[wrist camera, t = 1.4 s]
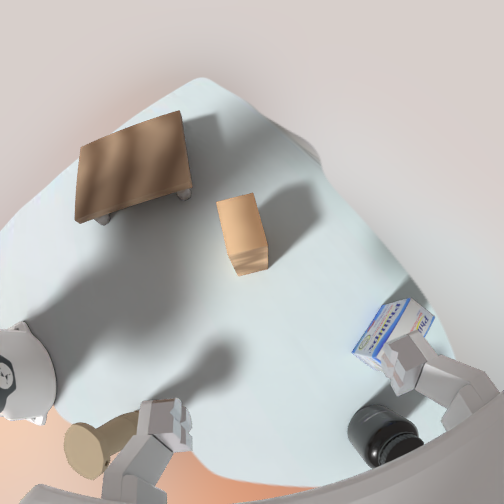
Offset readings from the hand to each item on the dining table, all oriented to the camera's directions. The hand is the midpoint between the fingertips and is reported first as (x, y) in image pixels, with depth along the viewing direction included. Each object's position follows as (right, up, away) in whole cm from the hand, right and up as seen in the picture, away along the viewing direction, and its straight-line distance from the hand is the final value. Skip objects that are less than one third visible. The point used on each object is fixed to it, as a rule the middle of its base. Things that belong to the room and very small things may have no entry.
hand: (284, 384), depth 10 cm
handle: (-16, -18, +22) cm, 33 cm away
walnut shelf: (-19, +16, +33) cm, 41 cm away
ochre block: (-2, +5, +28) cm, 29 cm away
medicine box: (+16, -7, +24) cm, 30 cm away
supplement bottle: (+15, -19, +21) cm, 31 cm away
